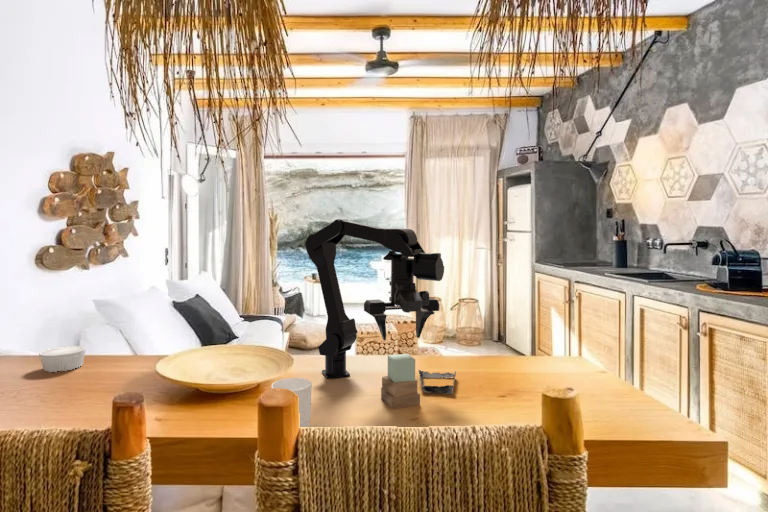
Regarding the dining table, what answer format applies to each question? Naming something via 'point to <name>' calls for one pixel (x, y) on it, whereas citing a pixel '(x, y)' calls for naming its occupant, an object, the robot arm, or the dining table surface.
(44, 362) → the ramekin
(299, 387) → the white cup
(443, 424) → the dining table surface
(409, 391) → the slab top
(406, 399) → the slab base
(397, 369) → the sage cube
